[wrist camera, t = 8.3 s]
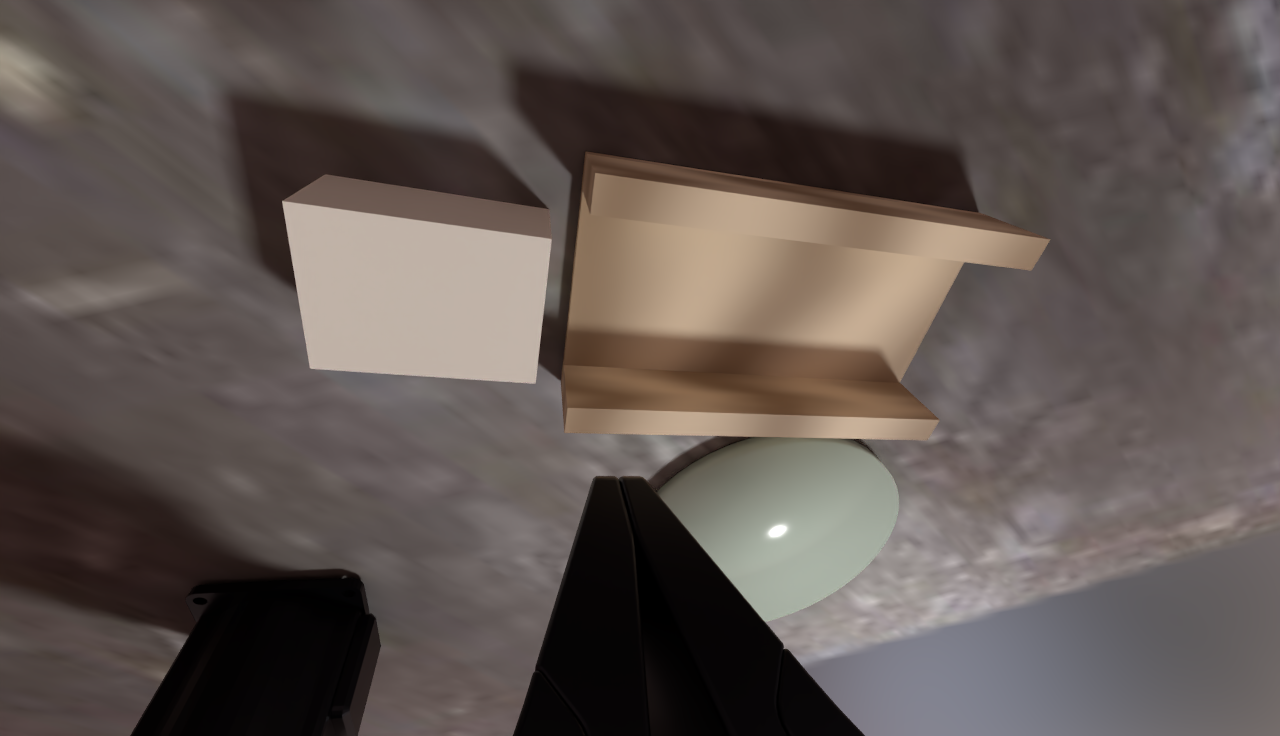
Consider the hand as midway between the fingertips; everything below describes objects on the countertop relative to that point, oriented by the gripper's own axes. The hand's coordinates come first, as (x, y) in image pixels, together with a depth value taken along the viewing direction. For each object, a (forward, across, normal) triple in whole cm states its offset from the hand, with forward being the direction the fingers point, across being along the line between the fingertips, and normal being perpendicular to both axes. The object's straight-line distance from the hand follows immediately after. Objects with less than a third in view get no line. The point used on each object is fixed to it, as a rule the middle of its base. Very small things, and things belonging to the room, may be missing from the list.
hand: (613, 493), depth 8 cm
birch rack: (+10, -7, 0) cm, 12 cm away
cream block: (+10, +4, 0) cm, 11 cm away
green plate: (+10, -11, +13) cm, 20 cm away
